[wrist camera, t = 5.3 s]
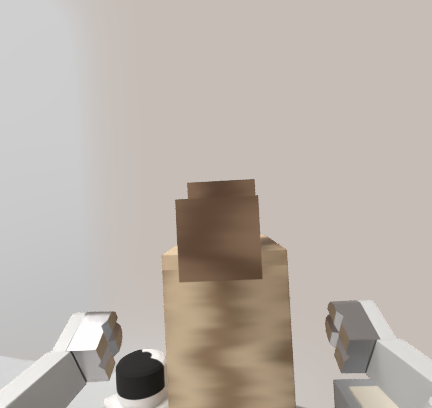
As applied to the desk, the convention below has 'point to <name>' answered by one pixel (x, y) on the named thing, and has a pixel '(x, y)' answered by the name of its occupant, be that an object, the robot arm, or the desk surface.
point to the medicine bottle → (140, 381)
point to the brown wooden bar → (219, 232)
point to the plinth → (360, 394)
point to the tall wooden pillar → (230, 337)
